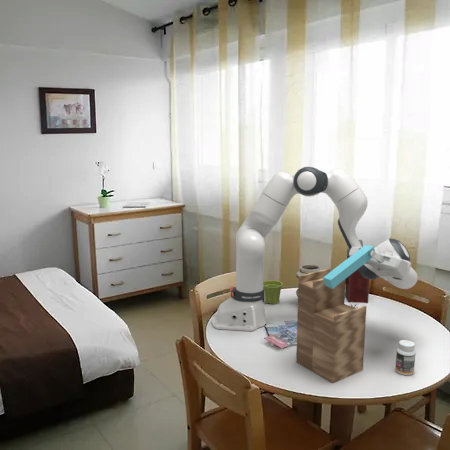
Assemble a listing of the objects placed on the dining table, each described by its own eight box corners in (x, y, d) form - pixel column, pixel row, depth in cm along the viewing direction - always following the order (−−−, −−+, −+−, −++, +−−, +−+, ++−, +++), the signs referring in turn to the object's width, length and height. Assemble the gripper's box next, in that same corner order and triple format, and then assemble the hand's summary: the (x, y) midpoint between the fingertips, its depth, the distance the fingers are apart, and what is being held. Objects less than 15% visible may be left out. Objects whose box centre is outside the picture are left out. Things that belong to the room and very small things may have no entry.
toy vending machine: (340, 295, 224) (342, 237, 219) (364, 296, 223) (367, 237, 218) (342, 302, 216) (345, 241, 210) (368, 302, 214) (371, 242, 209)
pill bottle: (392, 367, 157) (394, 339, 155) (408, 366, 158) (411, 338, 156) (399, 376, 152) (402, 347, 150) (417, 375, 152) (419, 346, 150)
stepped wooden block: (332, 383, 148) (337, 289, 142) (296, 362, 161) (298, 275, 155) (362, 370, 156) (368, 281, 149) (325, 351, 169) (328, 268, 163)
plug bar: (332, 288, 147) (330, 280, 146) (325, 285, 150) (323, 277, 148) (375, 254, 156) (373, 246, 155) (367, 252, 159) (365, 244, 158)
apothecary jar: (290, 303, 215) (291, 264, 211) (312, 298, 220) (313, 261, 216) (306, 312, 204) (307, 272, 200) (328, 307, 209) (330, 268, 206)
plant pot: (268, 307, 210) (269, 288, 208) (257, 300, 218) (257, 282, 217) (286, 303, 214) (286, 285, 213) (274, 297, 223) (275, 279, 221)
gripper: (365, 250, 172) (343, 236, 164) (416, 264, 155) (394, 249, 147) (358, 267, 171) (336, 253, 163) (409, 281, 155) (387, 267, 147)
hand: (364, 251), depth 155 cm, fingers closed on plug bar, 3 cm apart
